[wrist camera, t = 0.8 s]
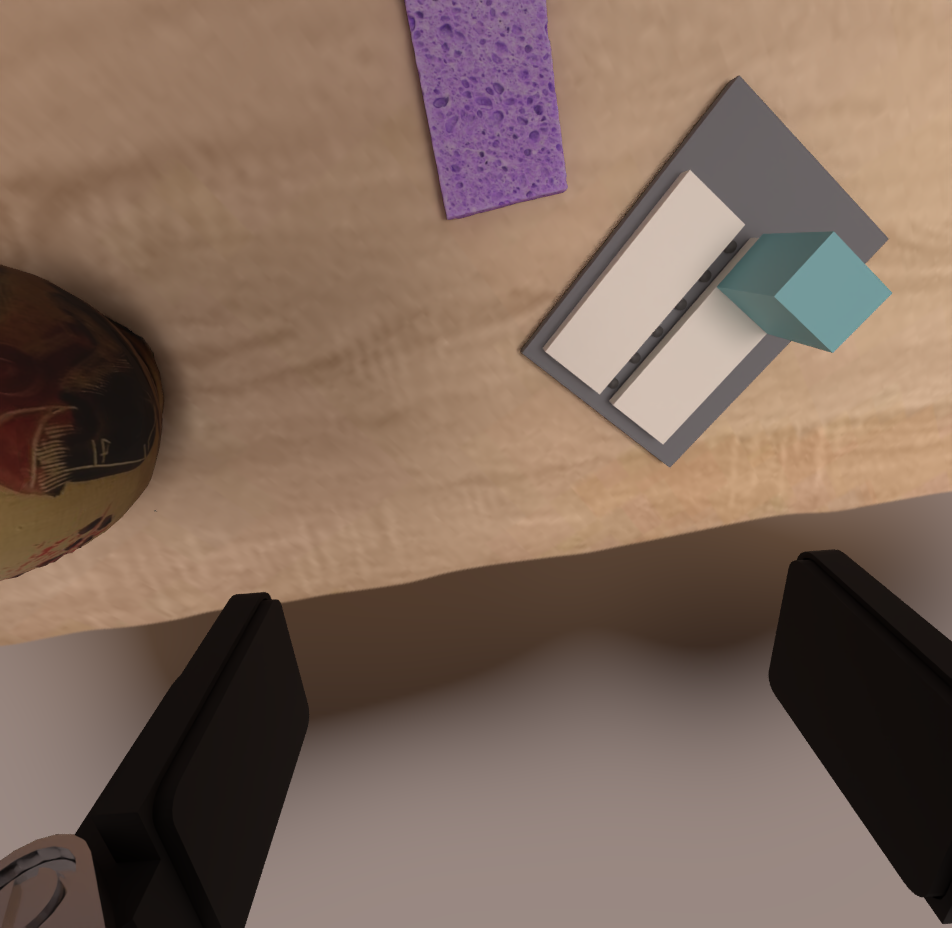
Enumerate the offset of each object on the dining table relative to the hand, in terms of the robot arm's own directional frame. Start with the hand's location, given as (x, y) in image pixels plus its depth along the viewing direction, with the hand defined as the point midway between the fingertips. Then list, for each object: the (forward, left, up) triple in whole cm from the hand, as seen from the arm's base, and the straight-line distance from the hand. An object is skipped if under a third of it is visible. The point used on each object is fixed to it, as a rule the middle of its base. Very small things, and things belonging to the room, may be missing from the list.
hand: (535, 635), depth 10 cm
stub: (-9, +10, -25) cm, 28 cm away
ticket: (-9, +5, -25) cm, 27 cm away
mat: (-11, +8, -26) cm, 29 cm away
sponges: (-12, -9, -27) cm, 30 cm away
